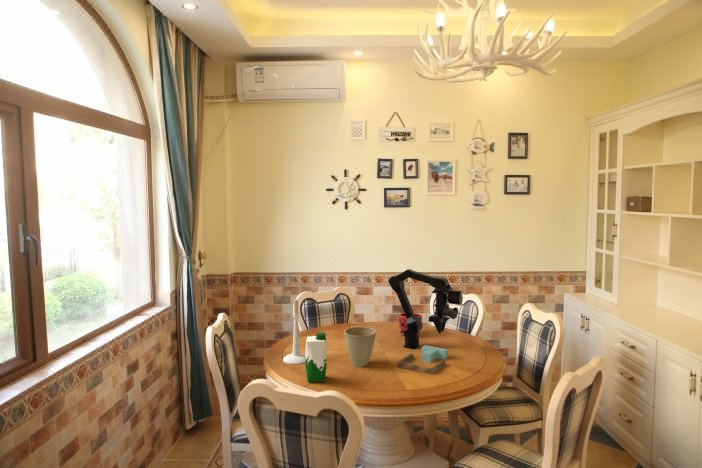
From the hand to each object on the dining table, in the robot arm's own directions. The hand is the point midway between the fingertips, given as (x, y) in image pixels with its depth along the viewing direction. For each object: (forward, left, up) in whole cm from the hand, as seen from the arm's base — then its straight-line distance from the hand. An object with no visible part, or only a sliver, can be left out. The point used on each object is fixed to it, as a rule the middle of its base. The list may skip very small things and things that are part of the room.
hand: (440, 332), depth 230 cm
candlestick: (-54, -50, -10) cm, 74 cm away
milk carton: (-31, -64, -10) cm, 72 cm away
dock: (0, -23, -10) cm, 25 cm away
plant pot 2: (-26, +18, -10) cm, 33 cm away
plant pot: (-25, -38, -10) cm, 47 cm away
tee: (0, -12, -10) cm, 16 cm away
